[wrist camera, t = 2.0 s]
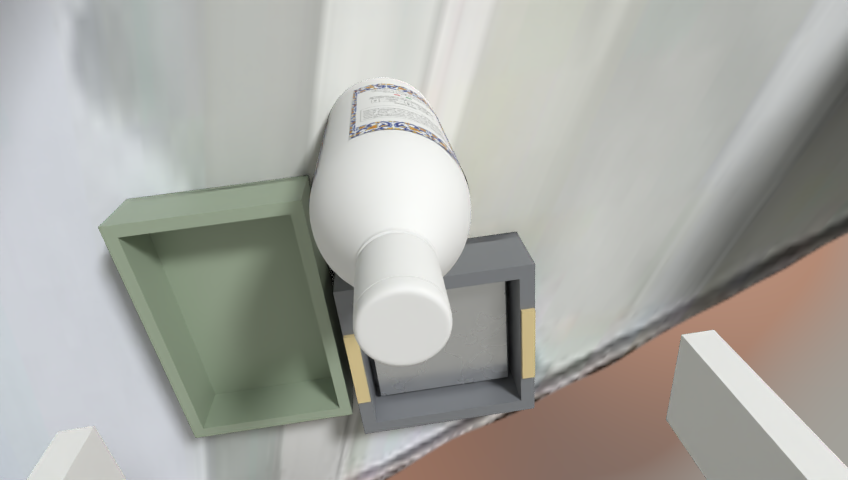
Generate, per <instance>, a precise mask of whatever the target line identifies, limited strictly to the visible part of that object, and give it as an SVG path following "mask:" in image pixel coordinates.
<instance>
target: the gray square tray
mask: <svg viewBox="0 0 848 480" xmlns="http://www.w3.org/2000/svg"><path fill="white" fill-rule="evenodd" d="M443 280H444V284H445V288H446V290H447V289H454V288H461V287H468V286H475V285H482V284H489V283H496V282H503V281H505V297H506V332H507V367H508V377H504V378H497V379H491V380H484V381H477V382H471V383H464V384H457V385H451V386H444V387H437V388H431V389H424V390H418V391H411V392H404V393H398V394H391V395H384V396H381V391H380V386H379V381H378V376H377V371H376V366H375V361H374V359H372V358H371V357H369V356H368V355H367V354H365V353H364V352H363V350H362V349H361V348H360V346H359V345H358V343H357V341H356V339H355V336H354V331H353V304H354V287H353V286H351V285H350V284H348V283H347V282H346V281H344V280H343V279H342V278H340V277H339V276H338V275H337V274H336V273H335V277H334V288H333V295H334V299H335V303H336V308H337V312H338V317H339V321H340V325H341V330H342V334H343V339H344V343H345V347H346V352H347V356H348V361H349V365H350V369H351V374H352V378H353V383H354V387H355V391H356V396H357V400H358V404H359V409H360V413H361V417H362V422H363V426H364V431H365V434H368V433H374V432H381V431H387V430H394V429H400V428H407V427H413V426H420V425H427V424H433V423H440V422H446V421H453V420H459V419H466V418H472V417H479V416H485V415H492V414H498V413H505V412H511V411H518V410H524V409H531V408H534V377H535V263H534V261H533V260H532V258H531V256H530V254H529V252H528V251H527V249H526V247H525V245H524V244H523V242H522V240H521V238H520V237H519V235H518V233H517V232H511V233H504V234H497V235H490V236H482V237H475V238H468V239H467V241H466V244H465V246H464V249H463V251H462V253H461V255H460V257H459V258H458V260H457V261H456V263H455V264H454V266H453V267H452V268H451V269H450V270H449V272H448V273H447V274H446V275H445V276H444V277H443Z"/></svg>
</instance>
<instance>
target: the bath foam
mask: <svg viewBox="0 0 848 480" xmlns="http://www.w3.org/2000/svg"><path fill="white" fill-rule="evenodd" d="M309 215H310V223H311V228H312V232H313V236H314V239H315V242H316V244H317V247H318V249H319V251H320V253H321V254H322V256H323V258H324V259H325V261H326V262H327V264H328V265H329V266H330V267H331V269H332V270H333V271H334V272H335V273H336V274H337V275H338V276H339V277H340V278H342V279H343V280H344V281H346V282H347V283H348V284H350V285H351V286H353V287H354V304H353V331H354V336H355V339H356V341H357V343H358V345H359V346H360V348H361V349H362V350H363V352H364V353H365V354H367V355H368V356H369V357H371V358H372V359H374V360H376V361H378V362H380V363H383V364H387V365H392V366H409V365H414V364H418V363H421V362H423V361H426V360H428V359H429V358H431V357H433V356H434V355H435V354H437V353H438V352H439V351H440V350H441V349H442V348H443V347H444V346H445V344H446V343H447V341H448V339H449V337H450V334H451V330H452V312H451V308H450V304H449V300H448V296H447V292H446V288H445V284H444V280H443V277H444V276H445V275H446V274H447V273H448V272H449V270H450V269H451V268H452V267H453V266H454V264H455V263H456V261H457V260H458V258H459V257H460V255H461V253H462V251H463V249H464V246H465V244H466V241H467V238H468V234H469V230H470V224H471V199H470V192H469V187H468V183H467V180H466V177H465V175H464V173H463V171H462V168H461V166H460V164H459V162H458V160H457V158H456V156H455V154H454V152H453V149H452V147H451V145H450V143H449V141H448V139H447V137H446V135H445V133H444V131H443V128H442V126H441V124H440V122H439V120H438V118H437V116H436V114H435V112H434V110H433V108H432V107H431V105H430V103H429V102H428V101H427V99H426V98H425V97H424V96H423V95H422V94H421V93H420V92H419V91H418V90H417V89H416V88H414V87H413V86H411V85H409V84H408V83H406V82H403V81H401V80H397V79H393V78H386V77H378V78H371V79H366V80H363V81H361V82H358V83H356V84H355V85H353V86H351V87H350V88H348V89H347V90H346V91H345V92H344V93H343V94H342V95H341V96H340V97H339V98H338V99H337V101H336V102H335V104H334V106H333V107H332V110H331V112H330V114H329V118H328V121H327V124H326V128H325V132H324V136H323V140H322V144H321V148H320V152H319V157H318V161H317V165H316V169H315V173H314V177H313V181H312V185H311V189H310V195H309Z"/></svg>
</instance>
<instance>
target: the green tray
mask: <svg viewBox="0 0 848 480" xmlns="http://www.w3.org/2000/svg"><path fill="white" fill-rule="evenodd" d="M310 189H311V186H310V182H309V178H308V175H306V176H298V177H291V178H283V179H275V180H268V181H260V182H253V183H245V184H238V185H230V186H222V187H215V188H207V189H200V190H192V191H185V192H177V193H169V194H162V195H154V196H147V197H139V198H132V199H126V200H125V201H124V202H123V203H122V204H121V205H120V206H119V207H118V208H117V209H116V210H115V211H114V212H113V213H112V214H111V215H110V216H109V217H108V218H107V219H106V220H105V221H104V222H103V223H102V224H101V225H100V226H99V227H98V229H99V231H100V233H101V235H102V237H103V239H104V241H105V244H106V246H107V248H108V250H109V252H110V254H111V257H112V259H113V261H114V263H115V265H116V267H117V269H118V272H119V274H120V276H121V278H122V280H123V282H124V285H125V287H126V289H127V291H128V293H129V295H130V297H131V300H132V302H133V304H134V306H135V308H136V310H137V313H138V315H139V317H140V319H141V321H142V323H143V325H144V328H145V330H146V332H147V334H148V336H149V338H150V341H151V343H152V345H153V347H154V349H155V351H156V353H157V356H158V358H159V360H160V362H161V364H162V366H163V369H164V371H165V373H166V375H167V377H168V379H169V381H170V384H171V386H172V388H173V390H174V392H175V394H176V397H177V399H178V401H179V403H180V405H181V407H182V410H183V412H184V414H185V416H186V418H187V420H188V422H189V425H190V427H191V429H192V431H193V433H194V435H195V438H199V437H206V436H212V435H219V434H226V433H232V432H239V431H245V430H252V429H259V428H265V427H272V426H278V425H285V424H292V423H298V422H305V421H311V420H318V419H324V418H331V417H338V416H344V415H351V414H352V409H353V378H352V374H351V369H350V365H349V361H348V356H347V352H346V347H345V343H344V339H343V334H342V330H341V325H340V321H339V317H338V312H337V308H336V303H335V299H334V295H333V284H332V279H331V275H330V271H329V266H328V264H327V262H326V261H325V259H324V258H323V256H322V254H321V253H320V251H319V249H318V247H317V244H316V242H315V239H314V236H313V232H312V228H311V223H310V215H309V195H310Z"/></svg>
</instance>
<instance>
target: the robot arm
mask: <svg viewBox="0 0 848 480" xmlns="http://www.w3.org/2000/svg"><path fill="white" fill-rule="evenodd" d="M666 420H667V422H668V423H669V425H670V426H671V427H672V429H673V431H674V432H675V434H676V435H677V437H678V438H679V439H680V441H681V442H682V444H683V445H684V447H685V448H686V450H687V451H688V453H689V454H690V456H691V457H692V459H693V460H694V462H695V463H696V465H697V466H698V468H699V469H700V471H701V472H702V474H703V475H704V477H705V478H706V479H707V480H848V467H847V466H846V465H845V464H844V463H843V462H842V461H841V460H840V459H839V458H838V457H837V456H836V455H835V454H834V453H833V452H832V451H831V450H830V449H829V448H828V447H827V446H826V445H825V444H824V443H823V442H822V441H821V440H820V439H819V438H818V436H816V435H815V433H814V432H813V431H812V430H811V429H810V428H809V427H808V426H807V425H806V424H805V423H804V422H803V421H802V420H801V419H800V418H799V417H798V416H797V415H796V414H795V413H794V412H793V411H792V410H791V409H790V408H789V407H788V406H787V405H786V403H785V402H783V400H782V399H781V398H780V397H779V396H778V395H777V394H776V393H775V392H774V391H773V390H772V389H771V388H770V387H769V386H768V385H767V384H766V383H765V382H764V381H763V380H762V379H761V378H760V377H759V376H758V375H757V374H756V373H755V372H754V371H753V369H752V368H751V367H750V366H749V365H748V364H747V363H746V362H744V360H743V359H742V358H741V357H740V356H739V355H738V354H737V353H736V352H735V351H734V350H733V349H732V348H731V347H730V346H729V345H728V344H727V343H726V342H725V341H724V340H723V339H722V338H721V337H720V336H719V334H718V333H717V332H716V331H715V330H709V331H703V332H697V333H690V334H683V335H681V341H680V346H679V352H678V357H677V363H676V368H675V374H674V379H673V384H672V390H671V395H670V401H669V406H668V411H667V417H666ZM27 480H126V478H125V476H124V475H123V473H122V471H121V470H120V468H119V466H118V465H117V463H116V461H115V460H114V458H113V456H112V455H111V453H110V451H109V450H108V448H107V446H106V445H105V443H104V441H103V440H102V438H101V436H100V434H99V433H98V431H97V429H96V428H95V426H90V427H84V428H77V429H71V430H64V431H58V432H57V434H56V435H55V437H54V438H53V440H52V441H51V443H50V445H49V446H48V448H47V449H46V451H45V452H44V454H43V455H42V457H41V458H40V460H39V461H38V463H37V465H36V466H35V468H34V469H33V471H32V472H31V474H30V475H29V477H28V478H27Z"/></svg>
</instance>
